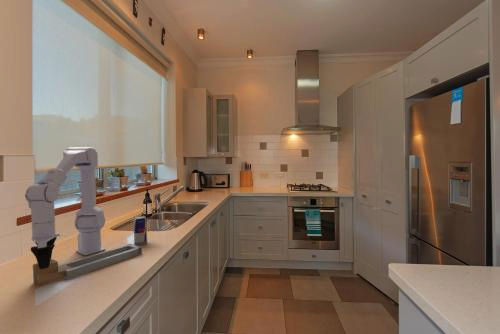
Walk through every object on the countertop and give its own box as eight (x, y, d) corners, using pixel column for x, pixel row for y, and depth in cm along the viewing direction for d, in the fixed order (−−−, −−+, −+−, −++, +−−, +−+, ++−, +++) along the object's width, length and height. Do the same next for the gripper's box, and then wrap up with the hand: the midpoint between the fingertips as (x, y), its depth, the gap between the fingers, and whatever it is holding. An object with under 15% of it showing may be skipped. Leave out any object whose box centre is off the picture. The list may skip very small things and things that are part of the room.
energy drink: (142, 245, 113) (141, 218, 112) (131, 245, 114) (130, 218, 114) (149, 241, 118) (148, 216, 118) (139, 241, 119) (138, 215, 119)
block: (33, 283, 80) (32, 264, 79) (66, 272, 87) (65, 254, 87) (39, 286, 77) (38, 267, 77) (72, 274, 85) (71, 257, 85)
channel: (57, 272, 87) (57, 265, 87) (130, 249, 108) (130, 243, 108) (67, 279, 82) (67, 271, 82) (141, 253, 103) (141, 247, 103)
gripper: (58, 224, 77) (60, 268, 77) (60, 216, 89) (62, 254, 89) (27, 228, 73) (29, 274, 73) (34, 219, 85) (36, 259, 85)
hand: (45, 264), depth 81 cm, fingers open, 7 cm apart
